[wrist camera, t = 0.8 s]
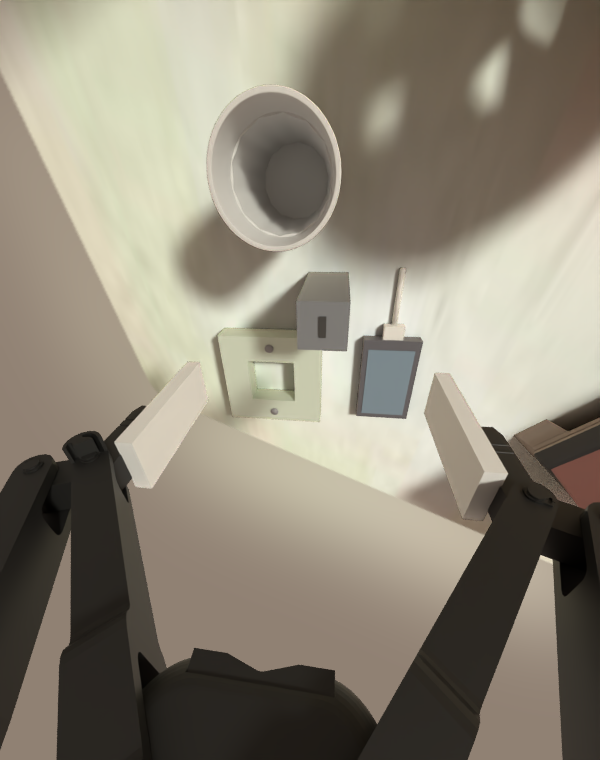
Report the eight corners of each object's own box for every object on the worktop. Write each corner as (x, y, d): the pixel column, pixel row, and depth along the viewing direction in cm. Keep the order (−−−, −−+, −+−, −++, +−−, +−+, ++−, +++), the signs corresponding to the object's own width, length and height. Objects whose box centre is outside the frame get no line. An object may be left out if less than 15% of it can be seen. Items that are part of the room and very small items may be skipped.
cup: (308, 248, 30) (290, 276, 20) (241, 195, 28) (185, 198, 18) (360, 169, 26) (371, 156, 16) (286, 102, 24) (247, 40, 14)
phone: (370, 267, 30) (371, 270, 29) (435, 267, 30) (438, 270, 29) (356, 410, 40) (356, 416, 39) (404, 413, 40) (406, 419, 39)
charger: (308, 272, 31) (295, 301, 23) (348, 272, 31) (350, 302, 22) (308, 310, 34) (297, 350, 25) (346, 311, 33) (346, 351, 25)
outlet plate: (224, 327, 36) (217, 336, 34) (322, 330, 35) (321, 339, 33) (237, 405, 43) (232, 417, 40) (320, 410, 41) (319, 422, 39)
